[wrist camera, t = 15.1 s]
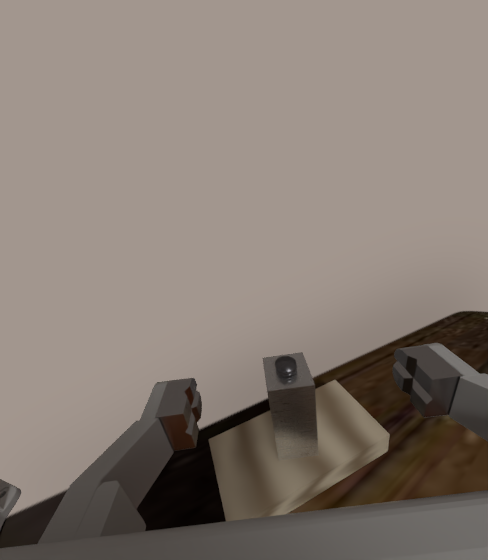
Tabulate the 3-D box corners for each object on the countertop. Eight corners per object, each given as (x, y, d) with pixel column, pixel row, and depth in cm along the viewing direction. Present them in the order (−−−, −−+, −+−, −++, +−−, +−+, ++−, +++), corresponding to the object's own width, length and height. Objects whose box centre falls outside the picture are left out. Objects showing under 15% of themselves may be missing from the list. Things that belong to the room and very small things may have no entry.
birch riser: (233, 546, 24) (228, 530, 23) (213, 454, 33) (208, 439, 32) (387, 451, 30) (389, 434, 29) (335, 394, 39) (335, 379, 38)
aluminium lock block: (278, 460, 28) (266, 384, 23) (273, 422, 33) (261, 351, 28) (318, 455, 28) (314, 377, 23) (307, 417, 33) (301, 345, 28)
